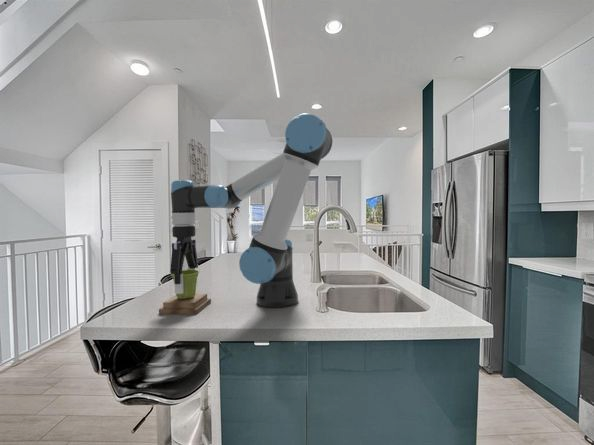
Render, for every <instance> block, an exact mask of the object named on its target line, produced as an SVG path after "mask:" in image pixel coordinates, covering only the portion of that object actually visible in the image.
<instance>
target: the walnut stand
mask: <svg viewBox="0 0 594 445" xmlns="http://www.w3.org/2000/svg"><path fill="white" fill-rule="evenodd" d="M211 303H212V298H208V293H195V296H194V297H192V298H186V299H179V298H177V296H176V294H175V295H174V296H172V297H171V298H169V299H167V300H165V301H163V302H162V307H160V308H158V314H159V315H160V314H161V315H162V314H163V315H198V314H199V313H200V312H202V311H203V310H204V309H205V308H207V307H208V306H209V305H210V304H211Z"/></svg>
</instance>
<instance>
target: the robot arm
mask: <svg viewBox="0 0 594 445" xmlns="http://www.w3.org/2000/svg"><path fill="white" fill-rule="evenodd" d="M284 132H285V133H284V134H285V135H284V137H285V142H286V143H285V146H284V149H283V152H282V153H280V154H278V155H276V156H275V157H274V158H271V159H270V160H268V161H266V162H265V163H262V164H261V165H260V166H257V168H255V169H254V170H252V171H249V172H247V173H246V174H245V175H243V176H241V177H240V178H238V179H236V180H235V181H233V182H231V183H230V184H228V185H226V186H225V185H221V184H218V185H217V184H212V185H211V184H210V185H195V184H194V181H192V180H182V179H181V180H180V179H179V180H173V181H172V182H171V184H170V186H171V190H170V195H171V196H170V197H171V198H170V199H171V213H172V214H171V216H170V217H171V218H170V219H171V222H172V223H171V224H172V225H173V226H172V230H171V231H172V232H171V234H172V237H173V238H175V239H176V242H172V243H171V259H170V260H171V261H170V271H169V273H170V275H171V274H174V281H173V284H174V283H175V285H174V294H175V295H176V294H183V293H184V288H183V274H181V273H182V270H183V267H184V262H185V260H186V263H187V267H188V268H186V270H196V269H198V268H199V262H198V254H197V247H196V244H197V243H196V242H197V241H196V239H192V238H193V237H195V236H196V226H195V224H196V213H195V212H196V211H195V210H196V209H228V210H229V209H235V208H237V207H238V206H239V205H240V204H241V202H242V201H244V200H246V199H247V198H249V197H251V196H253V195H255V194H256V193H258V192H260V191H261V190H263V189H265V188H267V187H268V186H270V185H272V184H273V183H276V182H277V183H276V185H275V189H274V190H273V191H274V192H273V195H272V197H271V199H270V202H269V205H268V207H267V211H266V213H265V216H264V218H263V219H264V220H263V222H262V225H261V227H260V230H259V232H257V233H256V234H255V233H254V234H253V235H252V238H251V240H250V244H249V247H248V248H246V249H245V250H244V251H243V252H242V253H241V255H240V258H239V262H238V263H239V265H238V266H239V269H240V271H241V273H242V276H243V277H244V278H245V279H246V280H247V281H249V282H250V283H253V284H258V285H259V287H258V290H257V294H256V304H257V305H258V306H261V307H265V308H284V307H285V308H286V307H290V306H293V305H296V304H298V302H299V294H298V291H297V289H296V286H295V282H294V277H293V276H294V275H293V273H294V272H293V271H294V267H293V250H294V248H293V243H292V242H293V241H291V239H287V236H288V234H289V232H290V229H291V226H292V223H293V220H294V219H295V216H296V212H297V210H298V208H299V205H300V202H301V199H302V197H303V194H304V191H305V188H306V185H307V183H308V180H309V177H310V175H311V172H312V171H313V170H315V169H317V168H318V167H319V164H320V162H321V160H322V159H324V158H325V157H327V155H329V153H330V152H331V149H332V147H333V137H332V134H331V131H330V130H329V129H328V128H327V126H326V123H325V122H324V121H323V120H322V119H321V118H319V116H317V115H315V114H312V113H301V114H298V115H295V117H293V118H292V119H291V120H290V121H288V124H287V126H286V128H285V131H284Z"/></svg>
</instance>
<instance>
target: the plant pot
mask: <svg viewBox="0 0 594 445" xmlns="http://www.w3.org/2000/svg"><path fill="white" fill-rule="evenodd" d="M199 273H200V270H197V269H195V270H187V269H182V273H181V274H183V288H184V293H183V294H175V295H176V296H177V298H179V299H186V298H192V297H194V296H195V294H196V293H197V292H196V291H197V281H198V276H199ZM170 276H171V277H172V281H173V284H174V286H175V283H174V274H171V273H170Z"/></svg>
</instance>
